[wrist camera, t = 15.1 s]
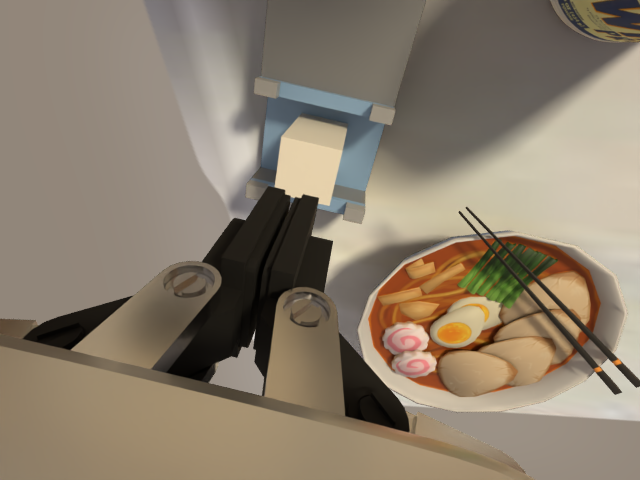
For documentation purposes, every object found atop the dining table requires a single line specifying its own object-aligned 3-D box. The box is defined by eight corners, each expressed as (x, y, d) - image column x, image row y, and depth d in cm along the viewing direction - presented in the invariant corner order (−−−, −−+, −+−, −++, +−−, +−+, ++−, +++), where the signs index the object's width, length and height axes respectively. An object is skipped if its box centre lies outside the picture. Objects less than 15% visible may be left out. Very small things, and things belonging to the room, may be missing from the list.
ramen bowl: (310, 274, 38) (298, 326, 31) (494, 133, 28) (537, 163, 21) (441, 385, 45) (455, 447, 38) (624, 305, 35) (688, 370, 28)
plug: (301, 113, 28) (281, 136, 21) (348, 123, 28) (342, 150, 21) (294, 158, 30) (273, 193, 23) (337, 168, 30) (329, 206, 23)
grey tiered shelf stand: (302, -200, 20) (283, -275, 15) (466, -162, 20) (497, -226, 15) (262, 174, 32) (245, 197, 28) (362, 197, 32) (361, 224, 28)
